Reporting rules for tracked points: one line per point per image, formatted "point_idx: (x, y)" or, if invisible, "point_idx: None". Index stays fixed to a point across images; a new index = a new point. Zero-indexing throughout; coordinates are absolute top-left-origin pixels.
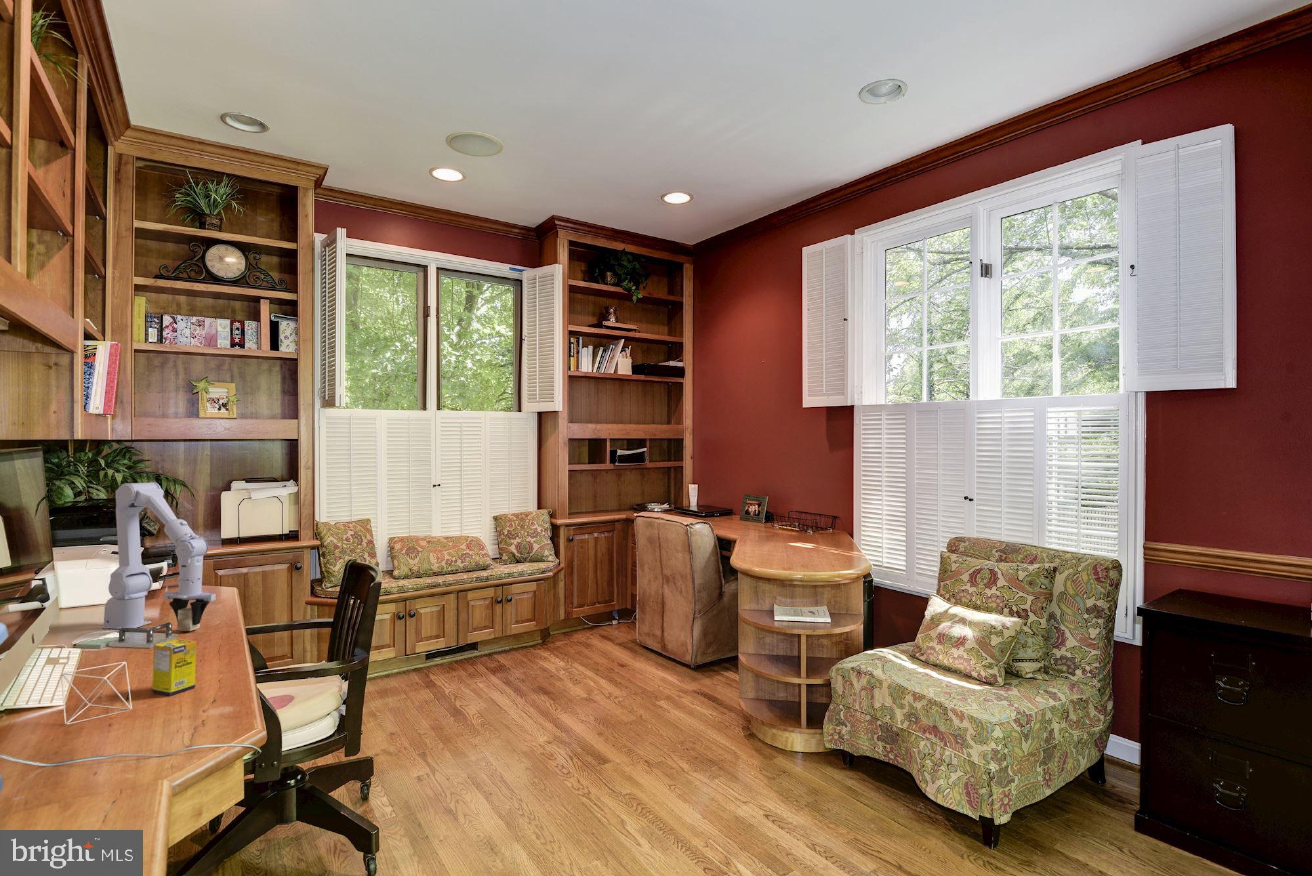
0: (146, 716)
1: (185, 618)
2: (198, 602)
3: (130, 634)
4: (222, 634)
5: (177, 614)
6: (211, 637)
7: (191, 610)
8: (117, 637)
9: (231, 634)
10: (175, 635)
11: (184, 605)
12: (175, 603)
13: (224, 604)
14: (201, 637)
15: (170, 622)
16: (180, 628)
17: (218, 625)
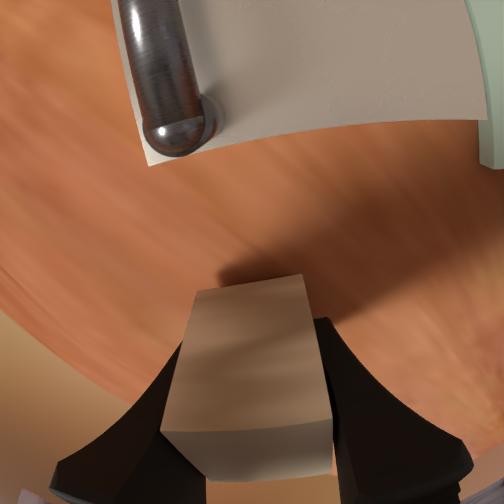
0: None
1: (231, 357)
2: (65, 499)
3: (493, 80)
4: (44, 310)
5: (340, 377)
6: (26, 253)
7: (166, 435)
8: (493, 10)
9: (22, 317)
10: (142, 137)
11: (341, 481)
12: (368, 494)
13: None
14: (57, 235)
15: (154, 135)
16: (276, 287)
17: None
